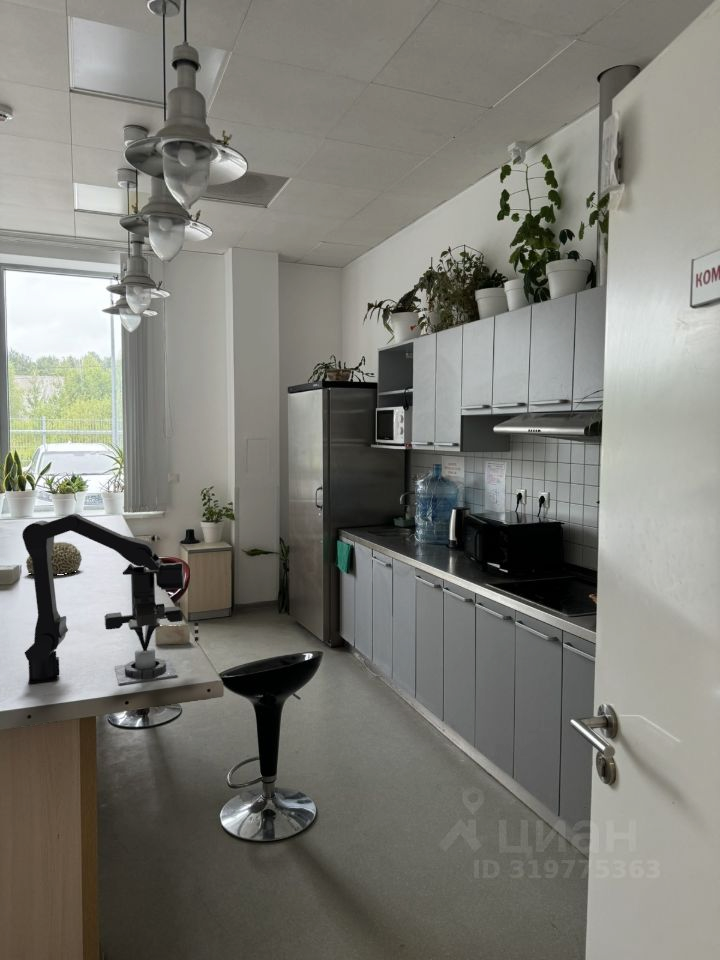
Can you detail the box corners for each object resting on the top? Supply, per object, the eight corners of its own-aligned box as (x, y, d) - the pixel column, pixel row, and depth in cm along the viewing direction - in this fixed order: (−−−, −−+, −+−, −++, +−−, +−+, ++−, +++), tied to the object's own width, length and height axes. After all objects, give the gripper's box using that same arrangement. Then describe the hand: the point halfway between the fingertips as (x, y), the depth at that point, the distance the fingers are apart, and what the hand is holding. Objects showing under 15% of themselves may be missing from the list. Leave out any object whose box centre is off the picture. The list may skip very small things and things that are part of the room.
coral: (31, 583, 290) (28, 549, 288) (25, 573, 305) (22, 542, 303) (86, 574, 303) (84, 542, 301) (78, 566, 318) (76, 535, 316)
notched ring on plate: (118, 685, 163) (118, 677, 163) (114, 667, 176) (114, 660, 175) (177, 676, 168) (177, 669, 168) (169, 660, 181) (169, 653, 181)
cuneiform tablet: (198, 621, 199) (157, 623, 198) (196, 624, 195) (154, 626, 194) (198, 641, 199) (157, 642, 198) (196, 644, 196) (154, 645, 194)
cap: (136, 674, 169) (135, 654, 168) (134, 668, 173) (134, 648, 173) (156, 672, 171) (156, 651, 170) (154, 666, 175) (154, 646, 175)
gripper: (106, 601, 160) (108, 665, 161) (185, 593, 167) (187, 654, 168) (103, 591, 170) (105, 651, 171) (178, 584, 177) (179, 642, 178)
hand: (144, 650), depth 172 cm, fingers closed, pressing on cap
